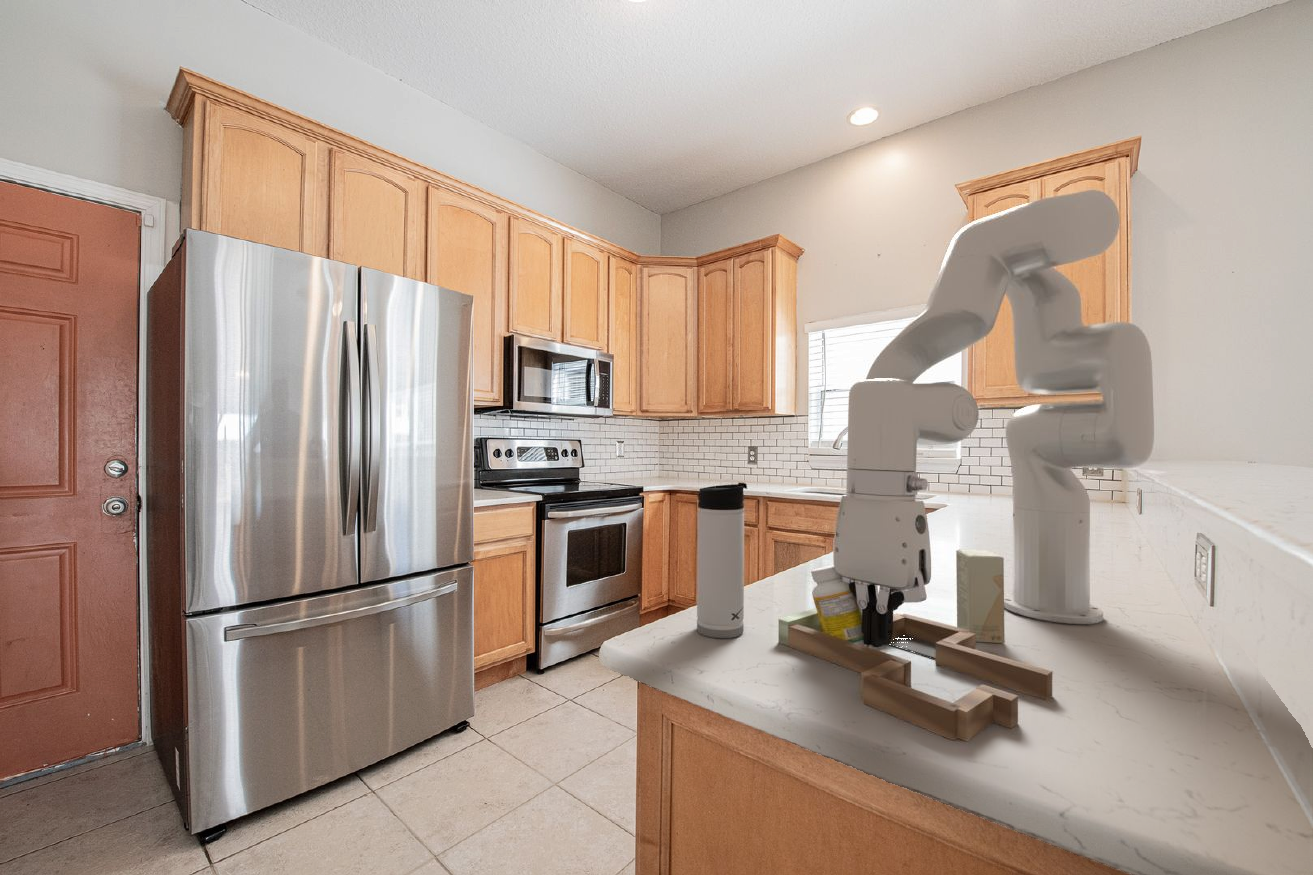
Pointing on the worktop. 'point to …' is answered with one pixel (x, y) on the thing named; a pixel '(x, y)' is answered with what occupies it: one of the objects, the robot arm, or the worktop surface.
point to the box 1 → (949, 648)
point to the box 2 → (980, 594)
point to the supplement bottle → (837, 606)
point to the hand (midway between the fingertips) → (876, 643)
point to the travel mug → (720, 561)
